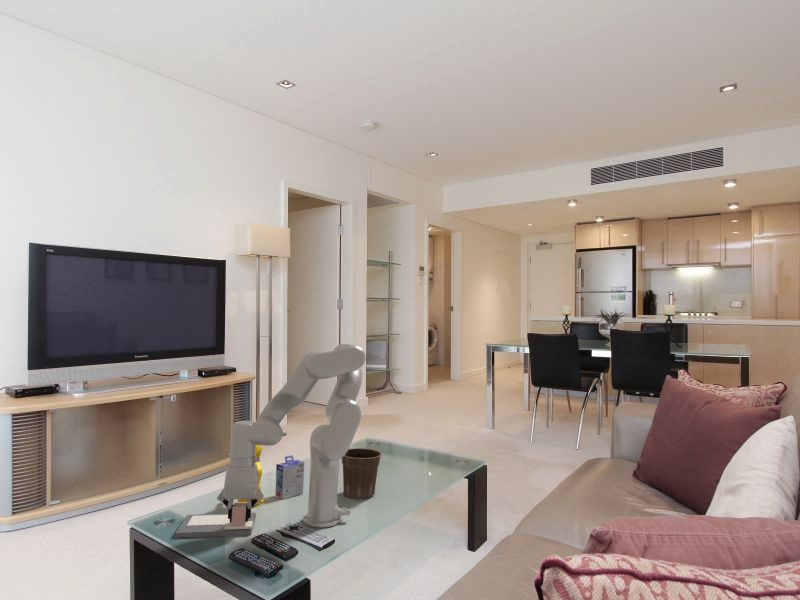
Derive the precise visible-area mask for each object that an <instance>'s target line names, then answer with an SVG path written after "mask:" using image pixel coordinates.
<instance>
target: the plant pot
mask: <svg viewBox="0 0 800 600" xmlns="http://www.w3.org/2000/svg"><path fill="white" fill-rule="evenodd" d="M381 457H382V452H381V451H379V450H377V449H373V448H362V447H360V448H356V447H355V448H349V449H348V451H347V453H346V454H345V456H344V457H342V458H341V464H342V481H343V483H342V484H343V492H342V493H343V496H345V497H346V498H348V497H349V499H352V498H353V499H354V500H358V499H361V500H367V499H366V498H368V499H371V498H373V497H374V496H375V493H376V485H377V477H378V469H379V466H380V462H381V461H380V460H381ZM373 495H374V496H373ZM372 496H373V497H372ZM370 497H371V498H370Z"/></svg>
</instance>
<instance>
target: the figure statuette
mask: <svg viewBox="0 0 800 600" xmlns="http://www.w3.org/2000/svg"><path fill="white" fill-rule="evenodd" d="M261 454H262V445H256V452H255V455H256V457H260V458H261ZM255 464H257V466H258V487H259V489H260V491H261V492H262V488H261V479H262V474H263V468H262V466H261V463H260V462H256V463H255ZM257 496H258V495H256V497H257ZM256 497H255V498H256ZM253 499H254V498H253ZM253 499H252V500H253ZM237 502H247V499H237ZM263 503H264V500H263V499H261V500H260V501H258V502H257V503H256V504H255V505H254V506H253V507H255V506H258V505H259V504H263Z"/></svg>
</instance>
